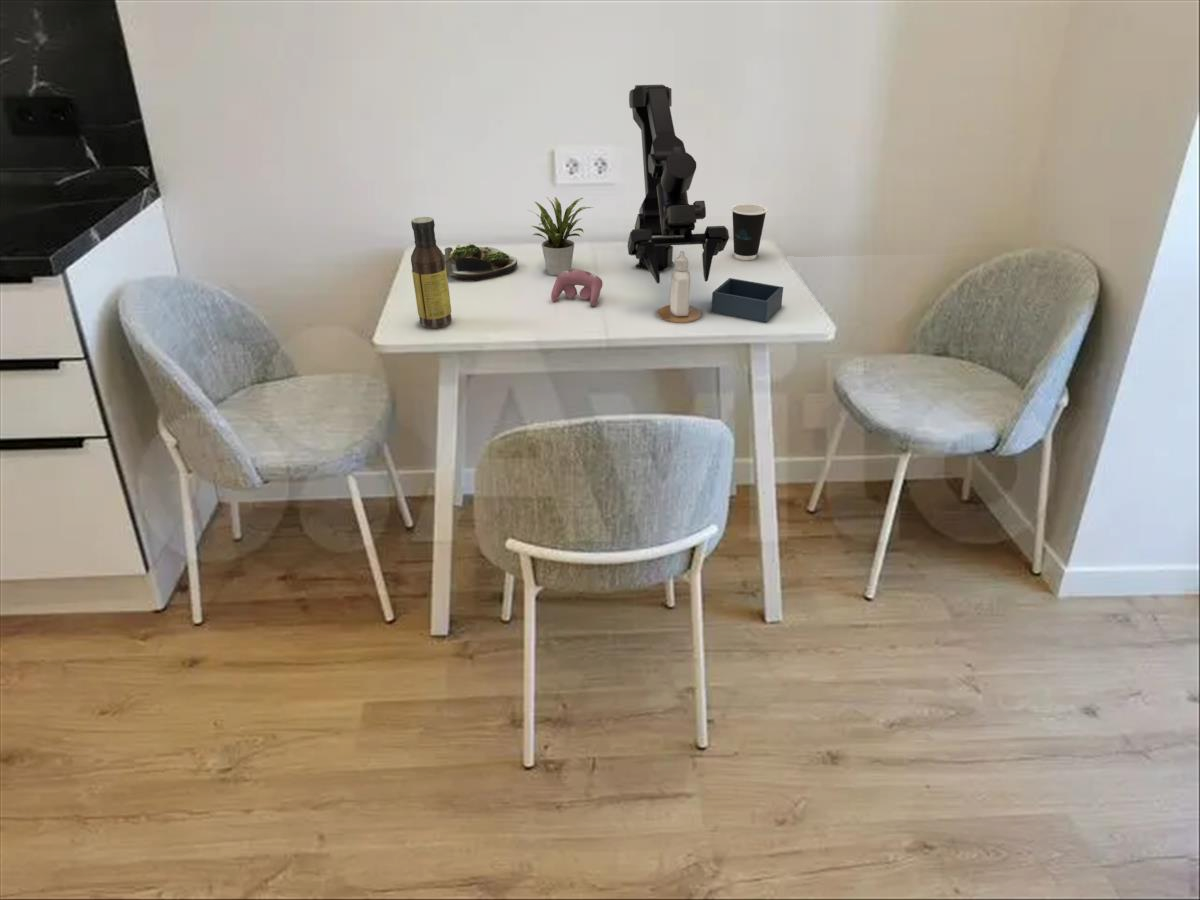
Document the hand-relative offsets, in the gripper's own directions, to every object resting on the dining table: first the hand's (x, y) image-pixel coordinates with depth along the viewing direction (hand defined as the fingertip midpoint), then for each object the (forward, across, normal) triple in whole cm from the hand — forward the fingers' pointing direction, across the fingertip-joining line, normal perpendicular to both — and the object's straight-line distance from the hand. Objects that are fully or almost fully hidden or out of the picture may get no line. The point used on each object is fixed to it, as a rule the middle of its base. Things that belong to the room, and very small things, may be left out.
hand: (682, 281), depth 166 cm
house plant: (-16, -20, +26) cm, 36 cm away
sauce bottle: (+3, -47, +7) cm, 48 cm away
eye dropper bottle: (+4, 0, +6) cm, 7 cm away
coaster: (+4, 0, +6) cm, 7 cm away
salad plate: (-18, -39, +29) cm, 52 cm away
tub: (+4, +14, +7) cm, 15 cm away
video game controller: (-3, -19, +13) cm, 23 cm away
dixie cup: (-19, +22, +29) cm, 41 cm away
